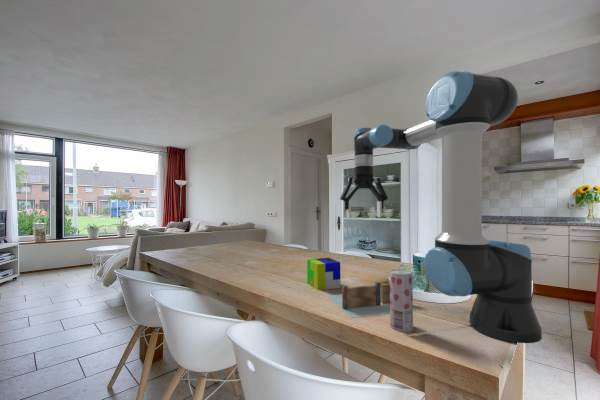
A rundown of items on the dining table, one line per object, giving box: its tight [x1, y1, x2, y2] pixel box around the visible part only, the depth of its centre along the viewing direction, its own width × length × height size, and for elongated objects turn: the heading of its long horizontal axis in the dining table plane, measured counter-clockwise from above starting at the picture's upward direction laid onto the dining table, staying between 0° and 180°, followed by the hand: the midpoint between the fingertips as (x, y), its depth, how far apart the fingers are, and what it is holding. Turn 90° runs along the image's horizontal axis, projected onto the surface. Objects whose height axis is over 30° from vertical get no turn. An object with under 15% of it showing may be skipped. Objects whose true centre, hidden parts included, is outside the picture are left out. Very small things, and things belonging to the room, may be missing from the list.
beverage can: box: [389, 268, 414, 333], centre depth 74 cm, size 6×6×15 cm
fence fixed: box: [380, 282, 390, 304], centre depth 91 cm, size 8×2×7 cm, turn 105°
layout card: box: [327, 293, 418, 319], centre depth 92 cm, size 20×22×1 cm
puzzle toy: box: [306, 257, 342, 291], centre depth 113 cm, size 10×10×10 cm
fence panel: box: [341, 281, 381, 309], centre depth 88 cm, size 13×2×7 cm, turn 106°
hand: (364, 217), depth 116 cm, fingers open, 13 cm apart
